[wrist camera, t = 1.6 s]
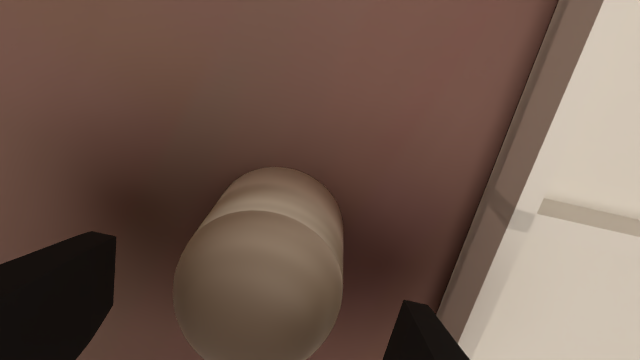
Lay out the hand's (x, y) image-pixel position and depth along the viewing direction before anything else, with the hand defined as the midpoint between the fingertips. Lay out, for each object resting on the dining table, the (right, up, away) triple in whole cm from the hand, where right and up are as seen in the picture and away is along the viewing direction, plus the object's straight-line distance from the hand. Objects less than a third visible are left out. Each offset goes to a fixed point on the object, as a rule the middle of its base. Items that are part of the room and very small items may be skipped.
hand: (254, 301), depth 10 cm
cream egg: (0, +1, +4) cm, 4 cm away
